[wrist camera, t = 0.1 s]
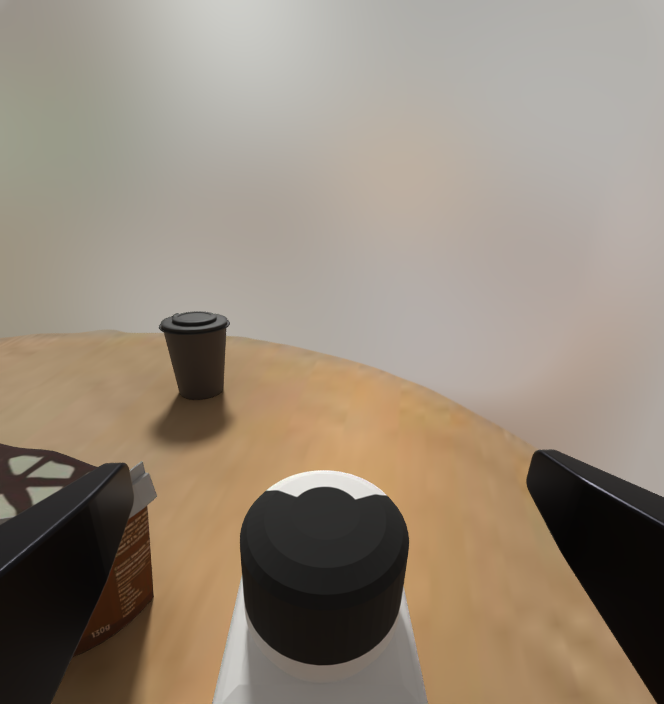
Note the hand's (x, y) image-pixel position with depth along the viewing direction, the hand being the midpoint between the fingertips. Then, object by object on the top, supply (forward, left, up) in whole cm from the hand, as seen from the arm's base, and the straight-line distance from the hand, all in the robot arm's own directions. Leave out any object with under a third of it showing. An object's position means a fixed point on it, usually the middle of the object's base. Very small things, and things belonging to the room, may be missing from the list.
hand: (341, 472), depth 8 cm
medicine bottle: (+4, 0, -17) cm, 17 cm away
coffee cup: (+38, +13, -17) cm, 43 cm away
